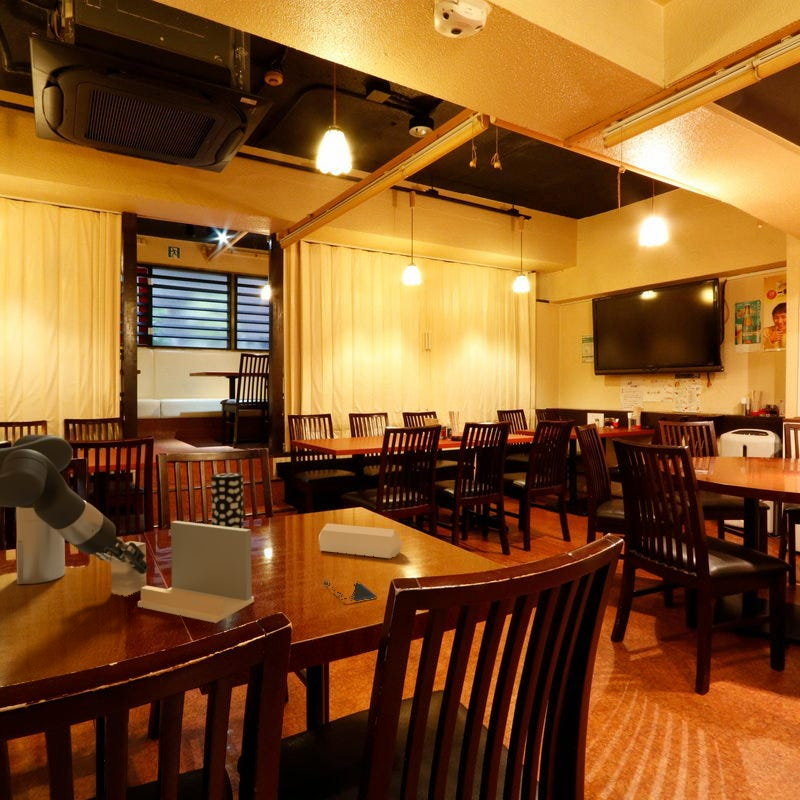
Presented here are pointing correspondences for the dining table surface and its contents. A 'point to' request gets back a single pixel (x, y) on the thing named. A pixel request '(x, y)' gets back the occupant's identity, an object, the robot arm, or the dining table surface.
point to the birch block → (127, 575)
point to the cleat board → (205, 573)
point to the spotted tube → (227, 499)
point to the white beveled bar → (360, 540)
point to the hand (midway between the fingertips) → (136, 568)
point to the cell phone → (358, 592)
